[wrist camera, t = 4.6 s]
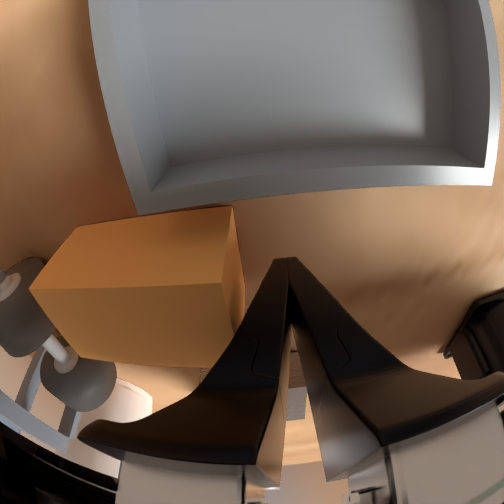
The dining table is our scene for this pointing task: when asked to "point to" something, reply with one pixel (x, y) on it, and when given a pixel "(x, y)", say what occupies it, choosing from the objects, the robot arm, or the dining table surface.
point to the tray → (296, 95)
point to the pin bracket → (289, 388)
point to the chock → (148, 288)
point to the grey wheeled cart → (45, 362)
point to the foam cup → (113, 409)
